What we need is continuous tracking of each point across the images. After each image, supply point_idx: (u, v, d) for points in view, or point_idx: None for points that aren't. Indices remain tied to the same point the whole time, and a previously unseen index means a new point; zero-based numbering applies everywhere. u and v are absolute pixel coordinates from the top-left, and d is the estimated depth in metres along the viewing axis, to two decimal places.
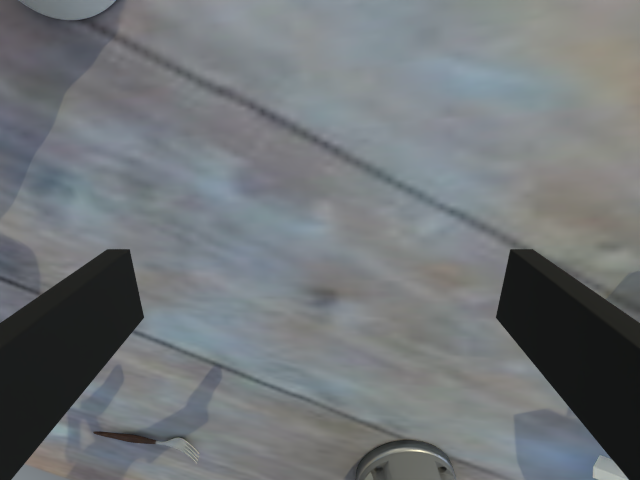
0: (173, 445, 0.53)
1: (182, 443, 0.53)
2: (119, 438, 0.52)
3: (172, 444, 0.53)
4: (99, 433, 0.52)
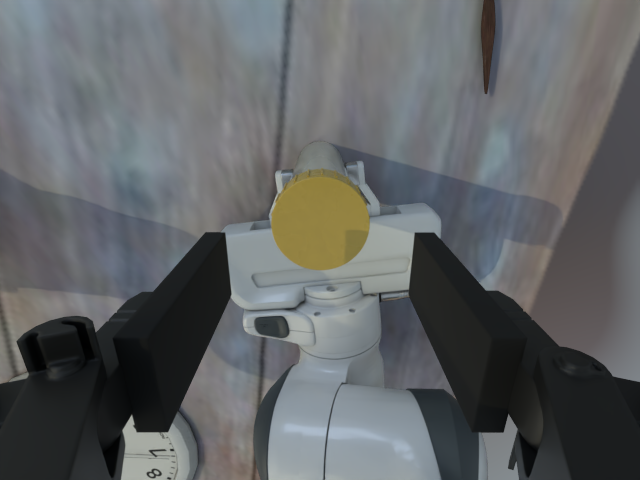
0: None
1: None
2: (489, 47, 0.32)
3: None
4: (485, 83, 0.33)
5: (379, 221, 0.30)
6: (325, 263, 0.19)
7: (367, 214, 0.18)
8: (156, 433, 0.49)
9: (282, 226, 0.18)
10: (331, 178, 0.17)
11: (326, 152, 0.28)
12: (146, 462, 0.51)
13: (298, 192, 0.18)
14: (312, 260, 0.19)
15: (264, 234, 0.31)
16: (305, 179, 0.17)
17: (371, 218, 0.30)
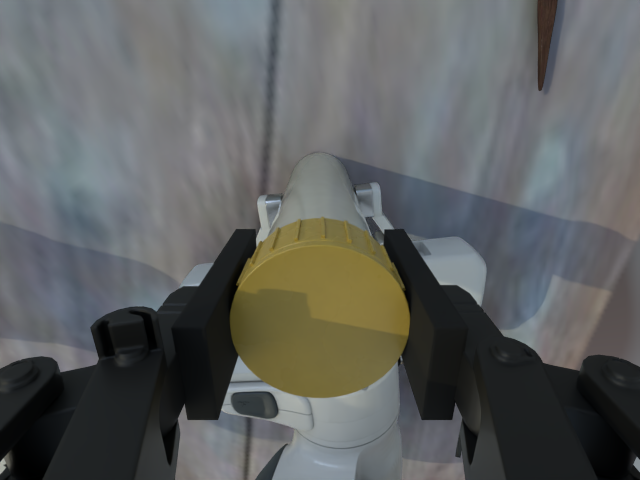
0: None
1: None
2: (548, 28, 0.24)
3: None
4: (540, 76, 0.25)
5: None
6: (328, 388, 0.11)
7: (406, 309, 0.10)
8: None
9: (250, 329, 0.10)
10: (340, 247, 0.09)
11: (328, 173, 0.20)
12: None
13: (278, 272, 0.09)
14: (305, 383, 0.11)
15: None
16: (291, 249, 0.09)
17: None
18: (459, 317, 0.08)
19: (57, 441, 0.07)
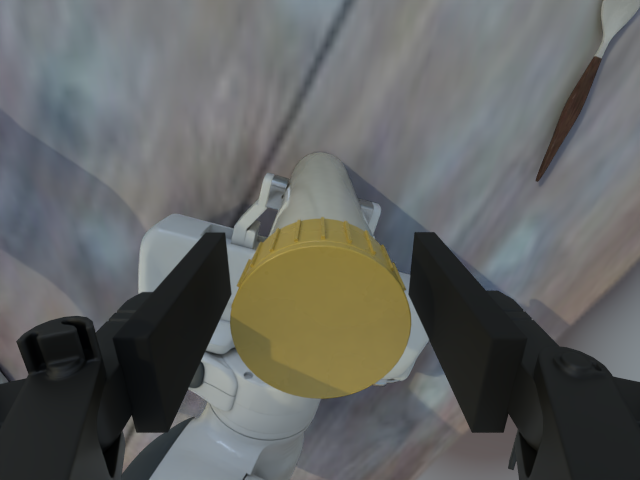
0: (620, 19, 0.24)
1: None
2: (564, 132, 0.27)
3: (616, 20, 0.24)
4: (541, 169, 0.28)
5: None
6: (396, 330, 0.10)
7: (309, 248, 0.09)
8: None
9: (312, 384, 0.11)
10: (234, 302, 0.10)
11: (343, 178, 0.20)
12: None
13: (255, 354, 0.10)
14: (385, 349, 0.10)
15: None
16: (233, 340, 0.10)
17: None
18: (515, 326, 0.08)
19: None
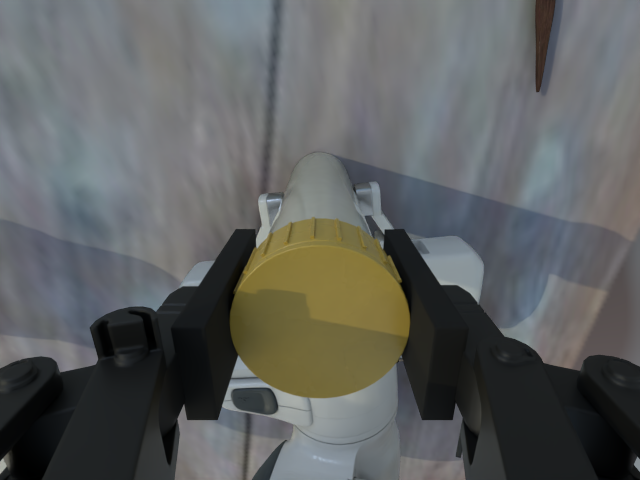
0: None
1: None
2: (546, 30, 0.24)
3: None
4: (538, 78, 0.25)
5: None
6: (392, 304, 0.10)
7: (273, 258, 0.09)
8: None
9: (337, 382, 0.11)
10: (231, 331, 0.10)
11: (328, 172, 0.20)
12: None
13: (271, 372, 0.11)
14: (390, 327, 0.10)
15: None
16: (247, 366, 0.10)
17: None
18: (459, 317, 0.08)
19: (57, 441, 0.07)
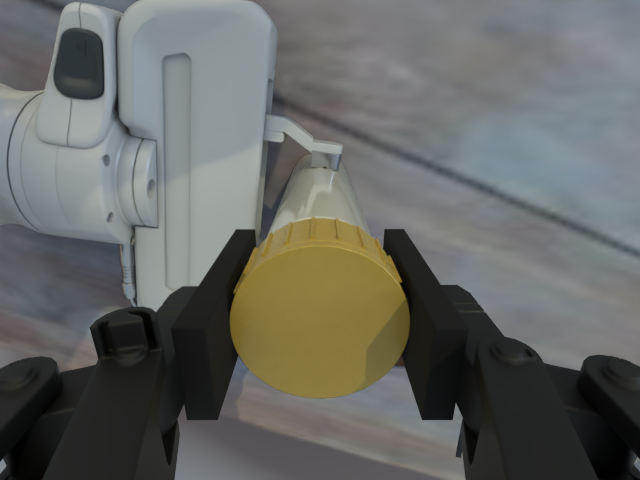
0: None
1: None
2: None
3: None
4: None
5: None
6: (392, 304, 0.10)
7: (273, 258, 0.09)
8: None
9: (337, 382, 0.11)
10: (231, 331, 0.10)
11: None
12: None
13: (271, 372, 0.11)
14: (390, 327, 0.10)
15: (258, 104, 0.19)
16: (247, 366, 0.10)
17: None
18: (459, 317, 0.08)
19: (56, 441, 0.07)
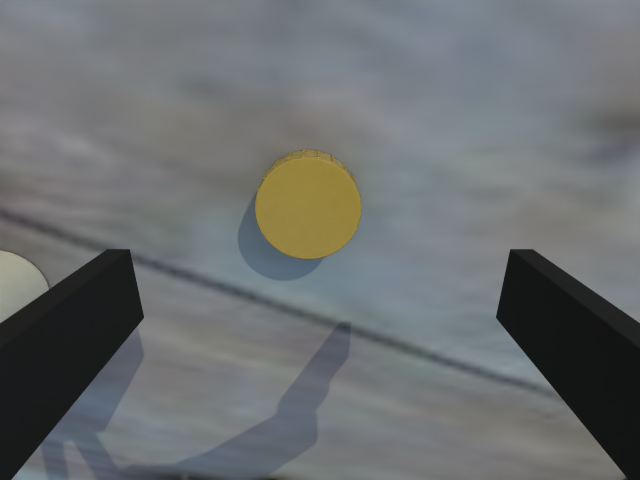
0: None
1: None
2: None
3: None
4: None
5: None
6: (350, 195, 0.17)
7: (281, 166, 0.16)
8: None
9: (319, 247, 0.18)
10: (255, 213, 0.17)
11: None
12: None
13: (279, 240, 0.18)
14: (349, 209, 0.17)
15: None
16: (265, 237, 0.18)
17: None
18: None
19: None
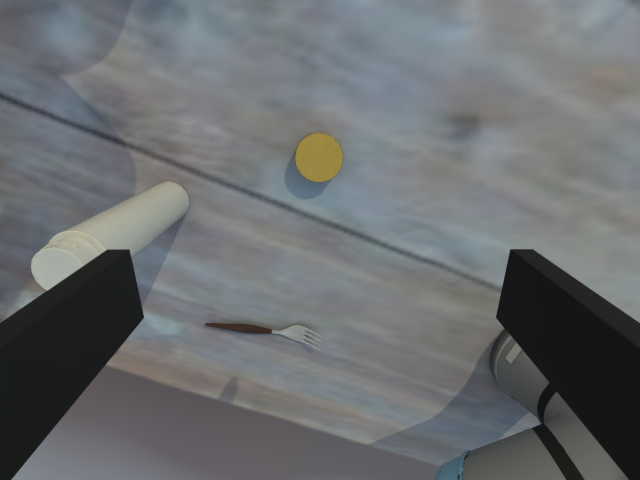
0: (290, 334, 0.49)
1: (300, 331, 0.48)
2: (233, 329, 0.48)
3: (289, 333, 0.49)
4: (211, 324, 0.48)
5: None
6: (337, 151, 0.38)
7: (307, 137, 0.37)
8: None
9: (323, 176, 0.39)
10: (295, 159, 0.38)
11: (159, 232, 0.35)
12: None
13: (305, 172, 0.39)
14: (337, 157, 0.38)
15: None
16: (299, 171, 0.39)
17: None
18: None
19: None
